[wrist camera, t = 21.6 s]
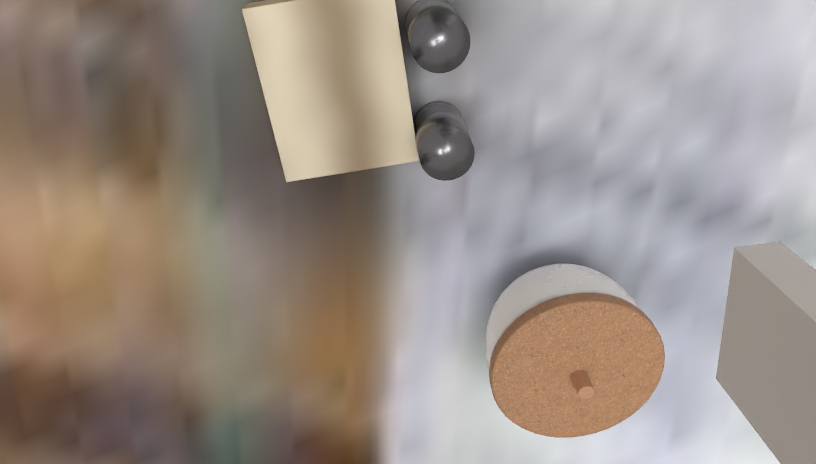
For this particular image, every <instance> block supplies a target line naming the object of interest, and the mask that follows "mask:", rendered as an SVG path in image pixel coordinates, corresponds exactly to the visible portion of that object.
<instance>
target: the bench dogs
mask: <svg viewBox="0 0 816 464" xmlns="http://www.w3.org/2000/svg"><path fill="white" fill-rule="evenodd" d="M405 27H406V33H407V36H408V40H409V44H410V48H411V51H412V54H413V57H414V59H415V60H416V62H417V63H418V64H419V65H420V66H421V67H422V68H424V69H425V70H427V71H430V72H434V73H445V72H449V71H451V70H453V69H455V68H457V67H458V66H459V65H460V64H461V63H462V62H463V61H464V60H465V58H466V56H467V54H468V52H469V48H470V35H469V32H468V29H467V27H466V25H465V24H464V22H463V21H462V20H461V18H460V17H459V15H458V14H457V13H456V11H455V10H454V8H453V7H452V6H451V5H450V4H449V3H448V2H447V1H445V0H419V1H418V2H416V3H415V4H414V5H413V6H412V7H411V9H410V10H409V12H408V14H407V17H406V22H405ZM414 132H415V137H416V143H417V148H418V153H419V158H420V163H421V165H422V168H423V169H424V171H425V172H426V173H427V174H428V175H430V176H431V177H433V178H435V179H438V180H453V179H456V178H459V177H460V176H462V175H463V174H465V173H466V172H467V171H468V170H469V168H470V167H471V165H472V163H473V160H474V147H473V144H472V142H471V139H470V137H469V134H468V132H467V129H466V127H465V124H464V122H463V120H462V117H461V115H460V113H459V111H458V110H457V109H456V108H455V107H454V106H453V105H451V104H449V103H446V102H441V101H438V102H432V103H429V104H427V105H425V106H424V107H423V108H421V109H420V111H419V112H418V113H417V115H416V117H415V120H414Z"/></svg>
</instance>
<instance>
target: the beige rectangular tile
mask: <svg viewBox="0 0 816 464" xmlns="http://www.w3.org/2000/svg"><path fill="white" fill-rule="evenodd" d="M242 11H243V15H244V19H245V23H246V27H247V31H248V35H249V39H250V42H251V46H252V50H253V54H254V58H255V62H256V66H257V70H258V74H259V77H260V81H261V85H262V89H263V93H264V97H265V101H266V105H267V108H268V112H269V116H270V120H271V124H272V128H273V132H274V136H275V139H276V143H277V147H278V151H279V155H280V159H281V163H282V167H283V170H284V174H285V178H286V182H290V181H296V180H303V179H309V178H315V177H321V176H328V175H334V174H340V173H346V172H353V171H359V170H365V169H372V168H378V167H384V166H390V165H397V164H403V163H409V162H415V161H419V158H418V152H417V145H416V138H415V132H414V125H413V118H412V112H411V105H410V98H409V92H408V85H407V78H406V72H405V65H404V58H403V52H402V45H401V38H400V32H399V25H398V18H397V12H396V5H395V0H265V1H259V2H253V3H248V4H247V5H246V6H245V7H244V8H243V9H242Z"/></svg>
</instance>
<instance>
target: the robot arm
mask: <svg viewBox="0 0 816 464" xmlns="http://www.w3.org/2000/svg"><path fill="white" fill-rule="evenodd" d="M716 379H717V380H718V382H719V383H720V384H721V386H722V387H723V388H724V390H725V391H726V392H727V394H728V395H729V396H730V397H731V399H732V400H733V401H734V403H735V404H736V405H737V407H738V408H739V409H740V411H741V412H742V413H743V415H744V416H745V417H746V419H747V420H748V421H749V422H750V424H751V425H752V426H753V428H754V429H755V430H756V432H757V433H758V434H759V436H760V437H761V438H762V440H763V441H764V442H765V444H766V445H767V446H768V447H769V449H770V450H771V451H772V453H773V454H774V455H775V457H776V458H777V459H778V461H779V462H780V463H781V464H816V270H815V269H814V268H813V267H811V266H810V265H809V264H808V263H806V262H805V261H804V260H803V259H801V258H800V257H799V256H798V255H796V254H795V253H794V252H793V251H791V250H790V249H789V248H788V247H786V246H785V245H784V244H783V243H781V242H773V243H765V244H758V245H751V246H743V247H736V248H734V254H733V261H732V268H731V275H730V282H729V289H728V296H727V303H726V311H725V318H724V325H723V332H722V339H721V346H720V353H719V360H718V367H717V375H716Z"/></svg>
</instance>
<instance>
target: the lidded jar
mask: <svg viewBox="0 0 816 464" xmlns="http://www.w3.org/2000/svg"><path fill="white" fill-rule="evenodd" d="M486 356H487V364H488V369H489V378H490V385H491V389H492V392H493V396H494V399H495V401H496V403H497V405H498V407H499V408H500V410H501V411H502V412H503V413H504V414H505V416H506V417H508V418H509V419H510V420H511V421H512V422H513V423H515V424H517V425H518V426H520V427H522V428H524V429H526V430H528V431H531V432H533V433H536V434H540V435H545V436H551V437H577V436H585V435H589V434H593V433H597V432H599V431H602V430H605V429H608V428H610V427H612V426H614V425H616V424H618V423H620V422H622V421H623V420H625V419H626V418H628V417H630V416H631V415H632V414H633V413H635V412H636V411H637V410H638V409H639V408H640V407H641V406H642V405H643V404H644V403H645V402H646V401H647V400H648V399H649V398H650V396H651V395H652V393H653V392H654V390H655V389H656V387H657V385H658V383H659V381H660V379H661V375H662V372H663V368H664V360H665V354H664V346H663V343H662V340H661V337H660V335H659V333H658V331H657V330H656V328H655V326H654V325H653V323H652V322H651V320H650V319H649V318H648V317H647V316H646V315H645V314H644V312H643V311H642V310H641V308H640V307H639V306H638V304H637V303H636V302H635V301H634V299H633V298H632V297H631V296H630V295H629V294H628V293H627V292H626V291H625V290H624V289H623V288H622V287H621V286H620V285H619V284H617V283H616V282H615V281H613V280H612V279H611V278H609V277H608V276H606V275H604V274H602V273H600V272H598V271H596V270H594V269H592V268H588V267H585V266H582V265H575V264H551V265H546V266H542V267H538V268H536V269H533V270H531V271H528V272H527V273H525V274H523V275H521V276H520V277H518V278H517V279H516V280H514V281H513V282H512V283H511V284H510V285H509V286H508V287H507V288H506V289H505V290H504V291H503V292H502V294H501V295H500V296H499V298H498V299H497V301H496V303H495V305H494V307H493V309H492V311H491V314H490V317H489V320H488V324H487V332H486Z"/></svg>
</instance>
